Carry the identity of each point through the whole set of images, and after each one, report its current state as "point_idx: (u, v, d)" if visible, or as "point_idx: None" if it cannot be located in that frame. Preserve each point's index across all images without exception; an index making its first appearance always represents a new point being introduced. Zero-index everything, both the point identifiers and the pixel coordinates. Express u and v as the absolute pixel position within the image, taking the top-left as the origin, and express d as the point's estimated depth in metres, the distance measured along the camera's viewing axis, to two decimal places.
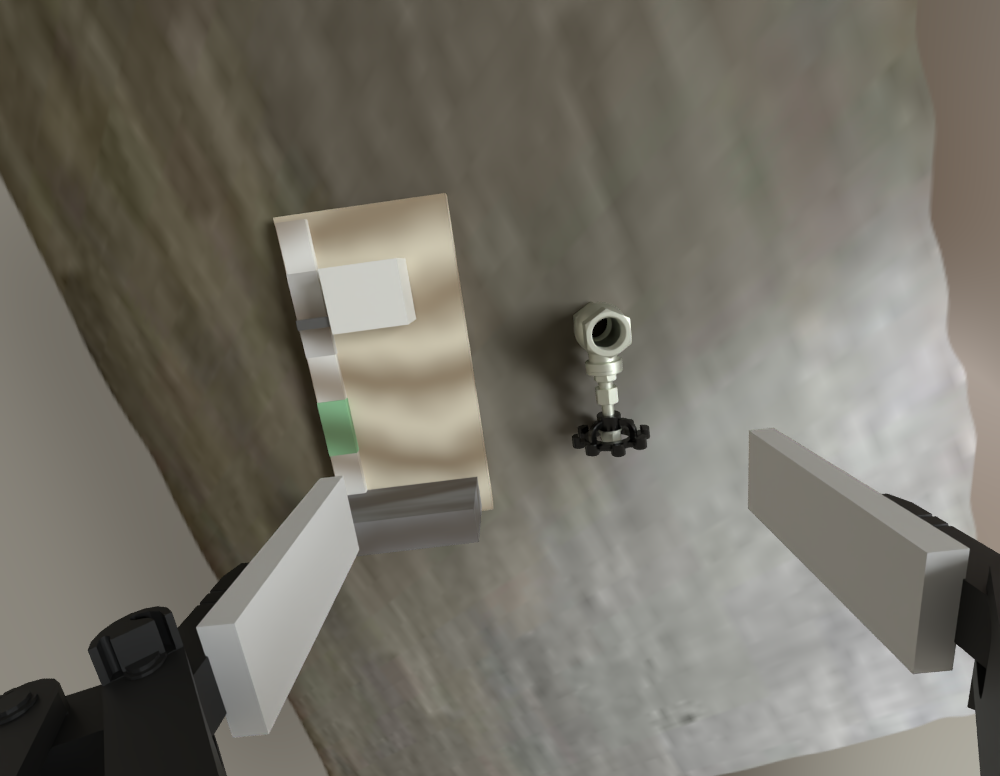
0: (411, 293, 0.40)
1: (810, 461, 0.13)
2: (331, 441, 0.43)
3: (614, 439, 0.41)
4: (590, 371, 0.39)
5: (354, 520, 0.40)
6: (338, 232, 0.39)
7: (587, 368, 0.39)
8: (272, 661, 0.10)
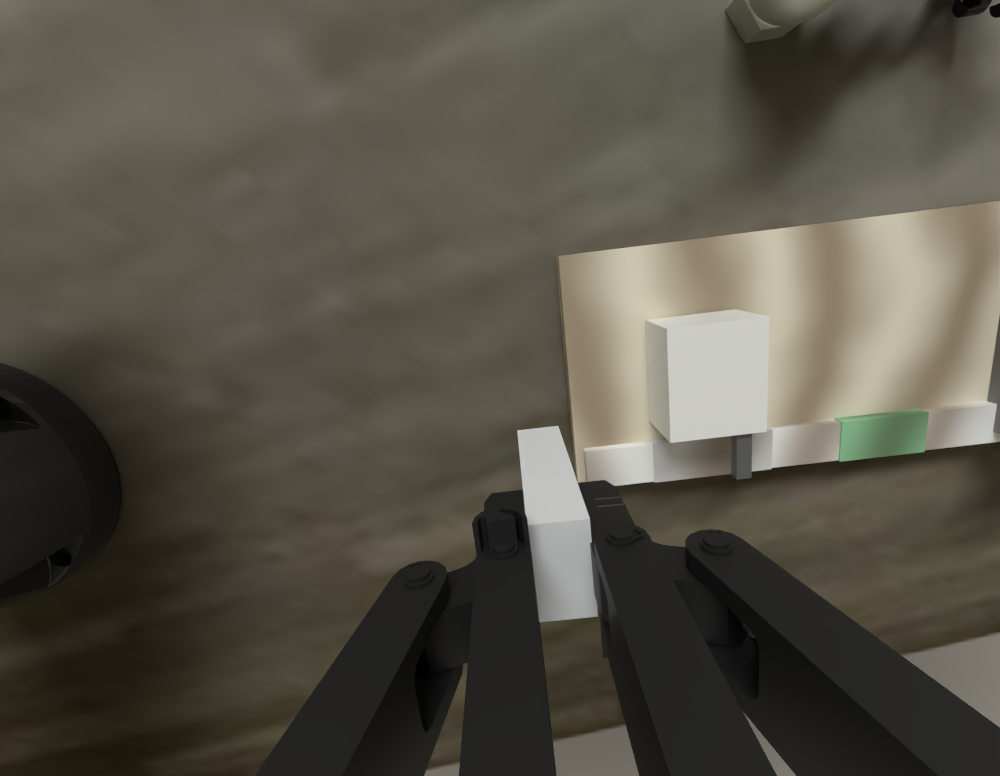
0: (696, 314, 0.27)
1: (554, 453, 0.15)
2: (901, 447, 0.29)
3: None
4: None
5: None
6: (602, 410, 0.28)
7: None
8: None
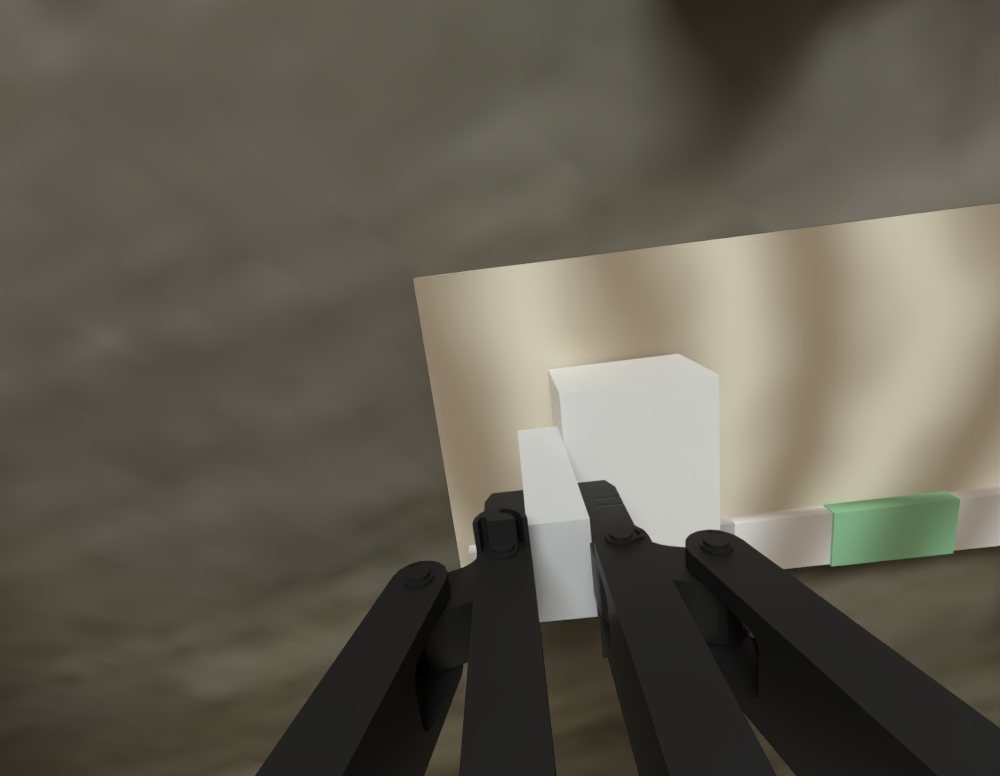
0: (622, 360, 0.18)
1: (554, 453, 0.15)
2: (920, 546, 0.20)
3: None
4: None
5: None
6: None
7: None
8: None
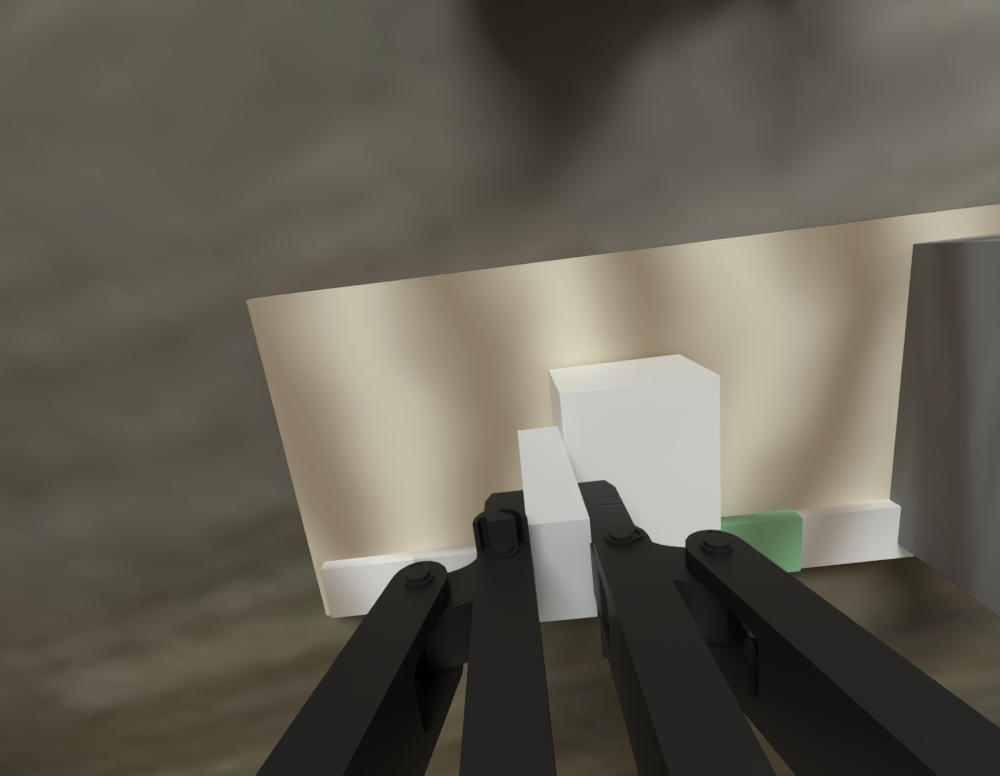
0: (623, 361, 0.18)
1: (554, 453, 0.15)
2: None
3: None
4: None
5: None
6: (343, 511, 0.20)
7: None
8: None
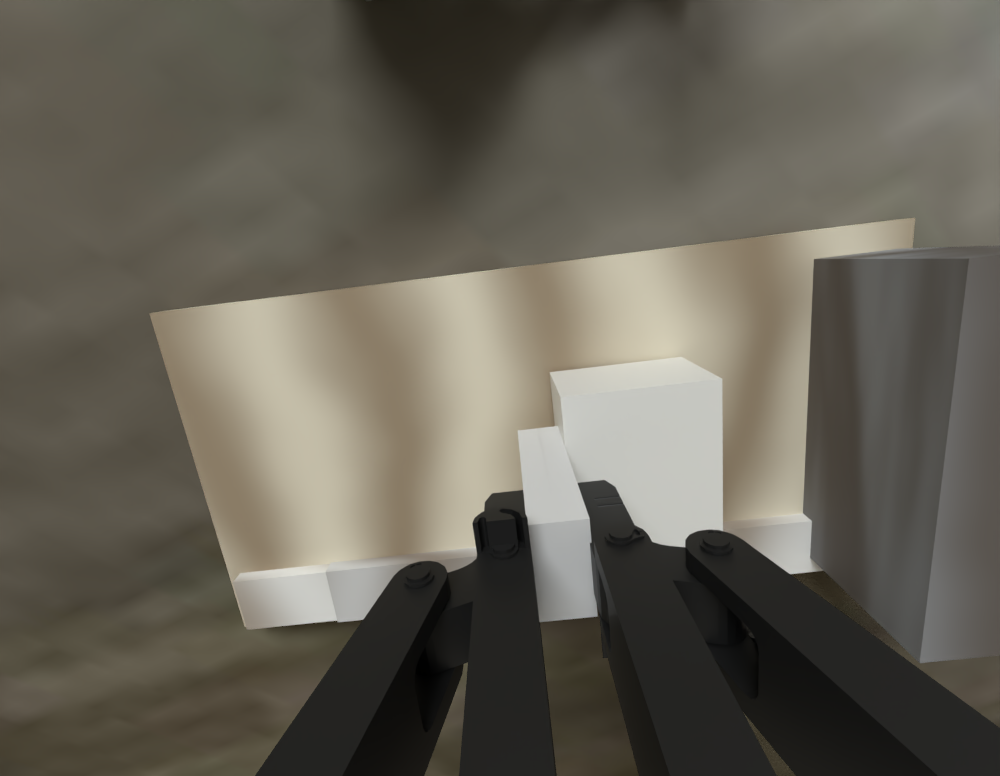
0: (624, 363, 0.18)
1: (554, 453, 0.15)
2: None
3: None
4: None
5: (914, 593, 0.15)
6: (256, 523, 0.20)
7: None
8: None
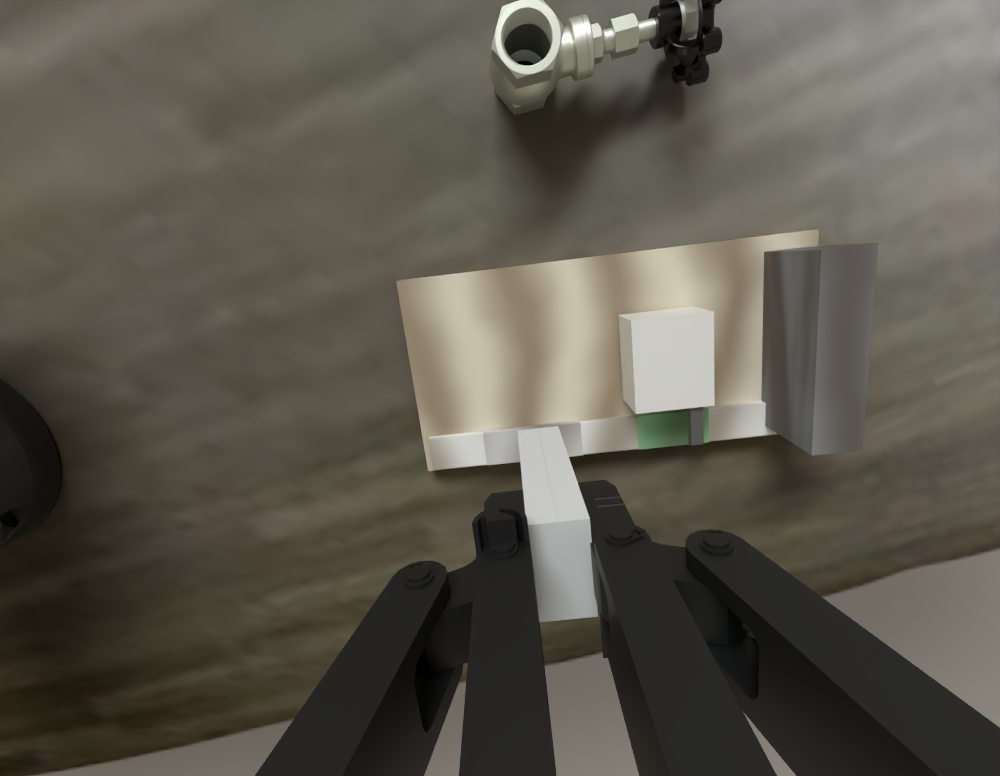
0: (660, 310, 0.33)
1: (554, 453, 0.15)
2: None
3: (694, 8, 0.26)
4: (587, 67, 0.27)
5: (808, 419, 0.29)
6: (442, 405, 0.35)
7: (583, 73, 0.27)
8: None
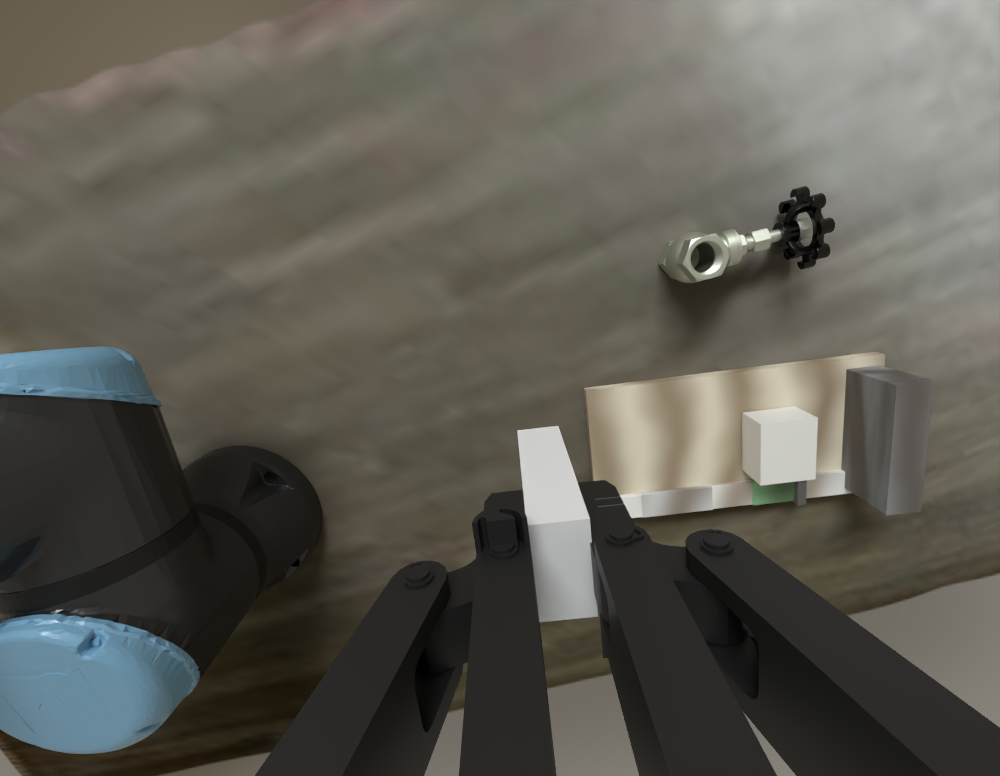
0: (772, 409, 0.46)
1: (554, 453, 0.15)
2: (789, 496, 0.48)
3: (808, 226, 0.40)
4: (735, 262, 0.40)
5: (883, 491, 0.43)
6: (611, 475, 0.48)
7: (731, 265, 0.41)
8: None
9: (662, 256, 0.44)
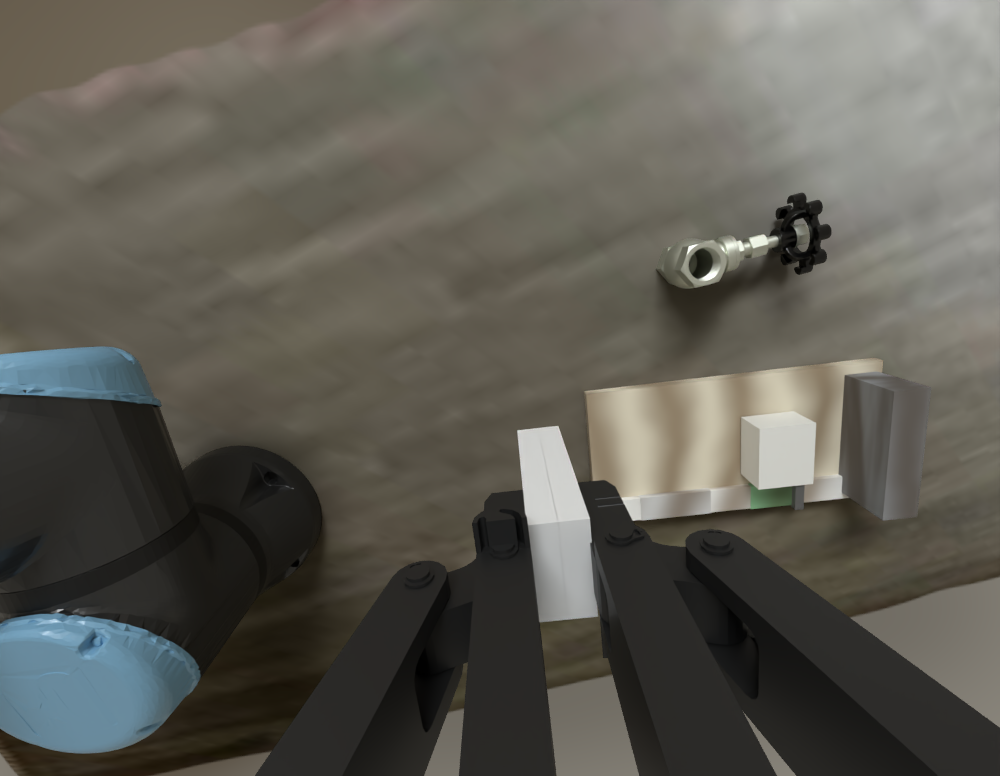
0: None
1: (554, 453, 0.15)
2: (787, 501, 0.48)
3: (805, 232, 0.40)
4: (733, 268, 0.41)
5: (880, 496, 0.43)
6: (610, 478, 0.49)
7: (729, 270, 0.41)
8: None
9: (660, 261, 0.44)
